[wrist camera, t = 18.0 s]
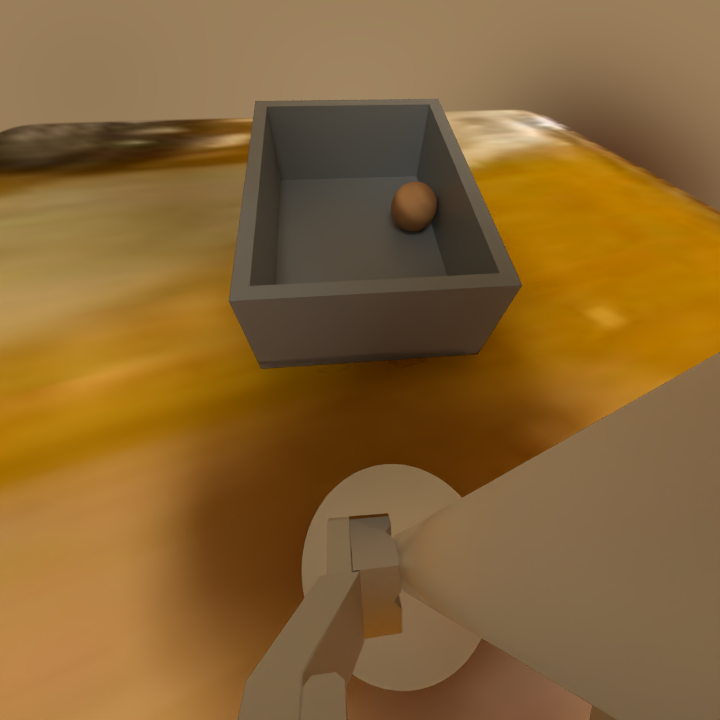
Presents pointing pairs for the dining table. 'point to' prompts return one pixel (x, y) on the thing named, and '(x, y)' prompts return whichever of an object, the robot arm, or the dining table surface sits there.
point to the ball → (414, 206)
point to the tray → (362, 238)
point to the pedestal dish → (564, 560)
